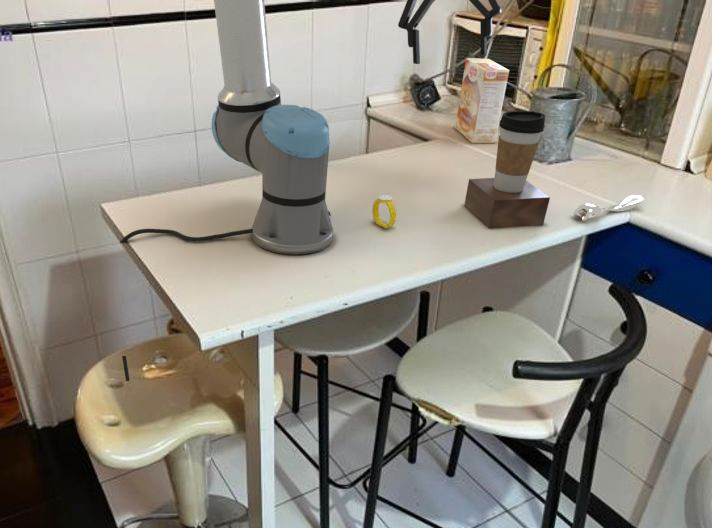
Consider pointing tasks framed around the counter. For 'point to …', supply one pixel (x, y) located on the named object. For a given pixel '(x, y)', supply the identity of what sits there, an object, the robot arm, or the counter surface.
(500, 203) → the walnut block
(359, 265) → the counter surface
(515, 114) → the coffee cup
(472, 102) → the coffeecake box
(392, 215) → the watch
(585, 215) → the silver scoop
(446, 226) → the counter surface
